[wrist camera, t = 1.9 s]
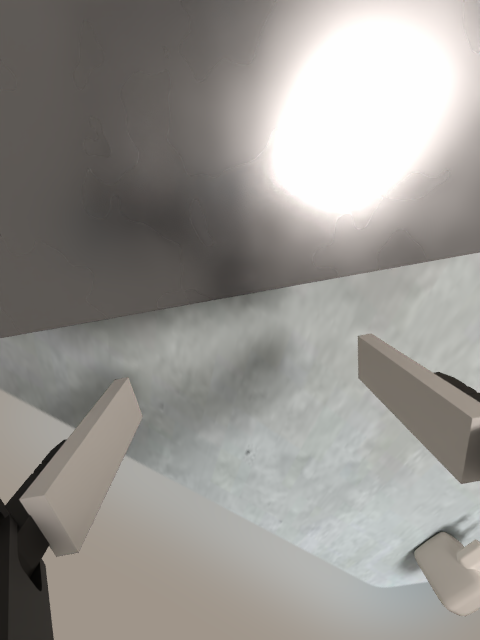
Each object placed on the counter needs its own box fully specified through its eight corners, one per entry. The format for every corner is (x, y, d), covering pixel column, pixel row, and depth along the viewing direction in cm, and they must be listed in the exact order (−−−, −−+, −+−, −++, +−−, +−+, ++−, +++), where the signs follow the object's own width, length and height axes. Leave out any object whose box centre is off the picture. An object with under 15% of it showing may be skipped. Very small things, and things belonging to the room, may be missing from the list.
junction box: (73, 121, 16) (-376, -226, 4) (322, 77, 16) (606, -399, 4) (125, 282, 20) (-33, 350, 8) (329, 245, 20) (494, 255, 8)
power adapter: (472, 501, 31) (525, 558, 26) (492, 515, 32) (548, 573, 27) (406, 549, 33) (442, 611, 28) (427, 561, 35) (465, 622, 29)
